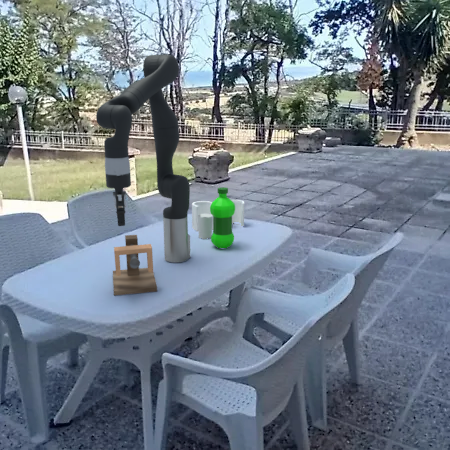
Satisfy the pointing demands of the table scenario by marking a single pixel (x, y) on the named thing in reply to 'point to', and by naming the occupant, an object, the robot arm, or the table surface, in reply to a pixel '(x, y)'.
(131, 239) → the hook stand
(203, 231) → the drinking glass
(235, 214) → the white caddy
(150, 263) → the wooden staple shape
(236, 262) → the table surface
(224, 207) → the plastic bottle
